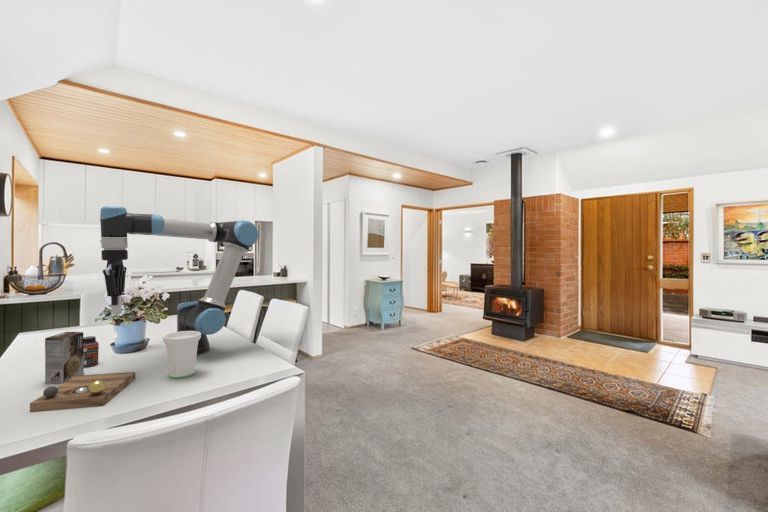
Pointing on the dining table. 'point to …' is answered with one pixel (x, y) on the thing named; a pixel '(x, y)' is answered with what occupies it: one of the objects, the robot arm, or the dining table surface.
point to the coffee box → (63, 357)
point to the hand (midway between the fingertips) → (116, 313)
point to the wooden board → (85, 399)
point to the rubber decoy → (50, 391)
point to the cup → (181, 353)
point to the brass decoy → (97, 387)
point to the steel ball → (81, 390)
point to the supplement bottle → (90, 351)
